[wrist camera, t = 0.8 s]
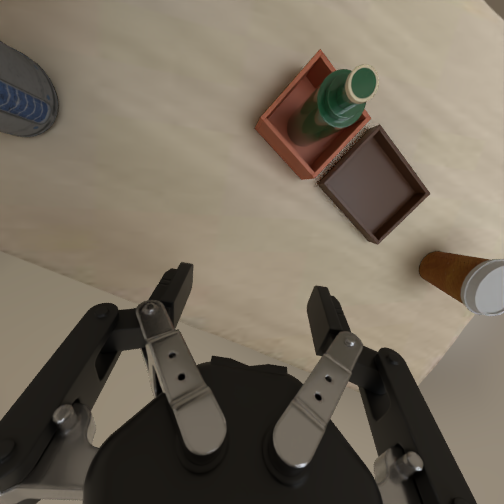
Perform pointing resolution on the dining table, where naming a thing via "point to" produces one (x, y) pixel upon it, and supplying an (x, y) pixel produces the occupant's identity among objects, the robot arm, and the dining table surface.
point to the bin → (277, 115)
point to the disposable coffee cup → (467, 280)
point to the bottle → (333, 105)
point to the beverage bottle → (24, 95)
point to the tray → (374, 185)
